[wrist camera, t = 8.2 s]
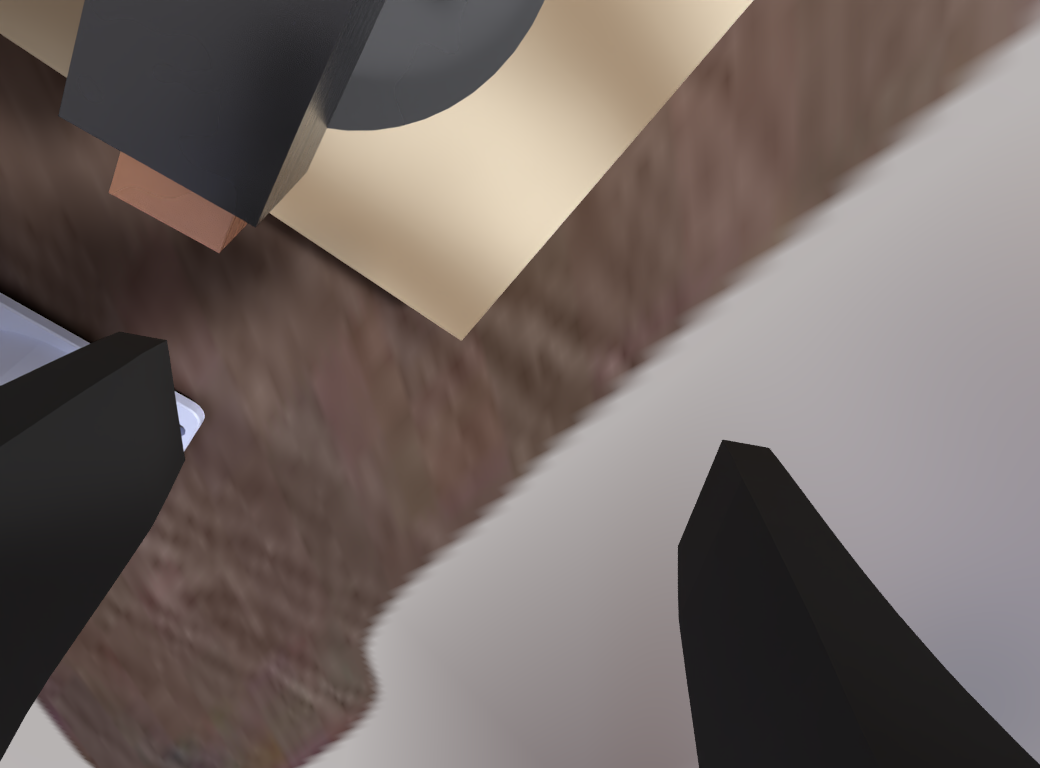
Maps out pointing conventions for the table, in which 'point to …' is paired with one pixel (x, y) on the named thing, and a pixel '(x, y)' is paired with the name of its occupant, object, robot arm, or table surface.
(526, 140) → the cream base plate
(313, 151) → the rotary knob
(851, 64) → the table surface
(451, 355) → the table surface
